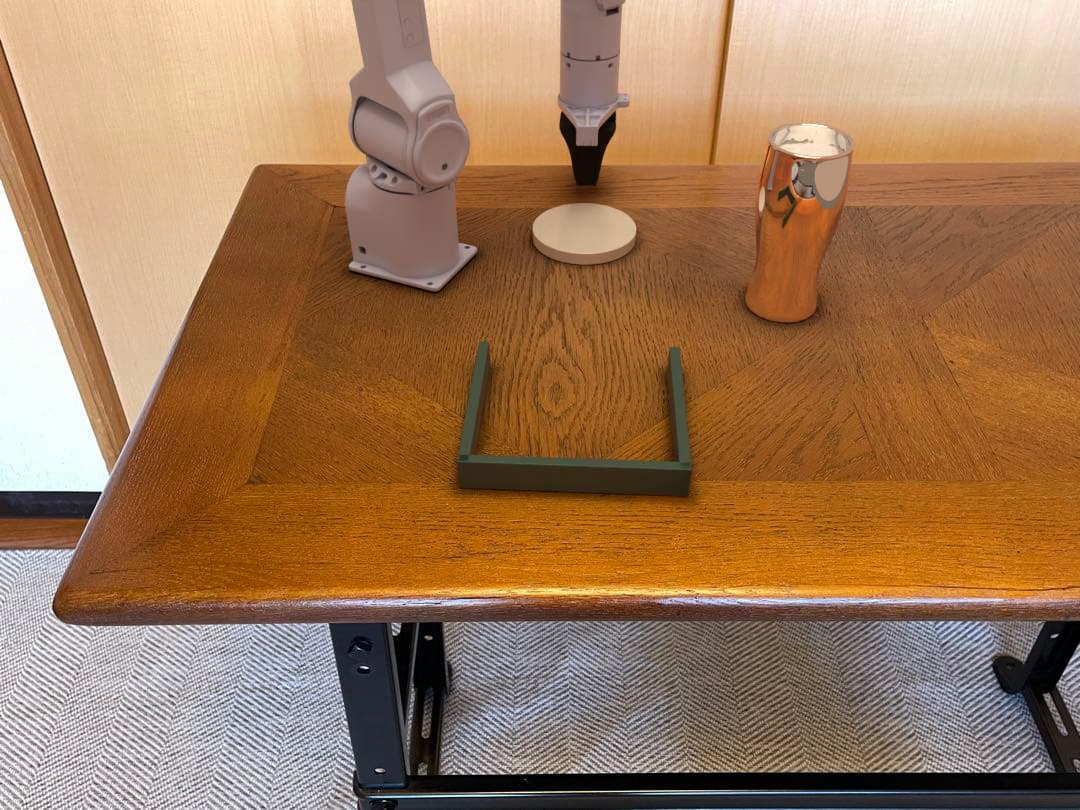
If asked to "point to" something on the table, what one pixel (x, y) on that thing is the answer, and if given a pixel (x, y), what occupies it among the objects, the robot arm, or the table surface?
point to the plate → (584, 233)
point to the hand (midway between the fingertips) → (586, 182)
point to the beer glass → (797, 216)
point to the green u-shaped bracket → (575, 470)
